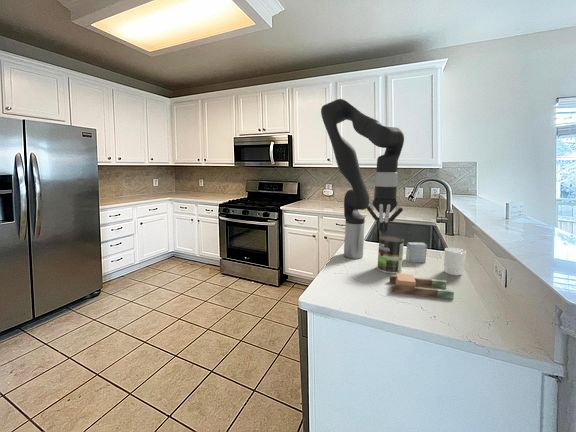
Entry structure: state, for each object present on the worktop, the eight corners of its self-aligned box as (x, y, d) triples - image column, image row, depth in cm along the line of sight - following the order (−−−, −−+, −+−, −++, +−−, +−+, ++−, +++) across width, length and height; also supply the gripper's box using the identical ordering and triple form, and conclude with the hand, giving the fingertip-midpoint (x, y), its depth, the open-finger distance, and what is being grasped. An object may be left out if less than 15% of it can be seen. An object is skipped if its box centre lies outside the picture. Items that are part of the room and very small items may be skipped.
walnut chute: (391, 292, 104) (392, 285, 103) (389, 281, 113) (389, 275, 113) (453, 299, 99) (454, 292, 98) (445, 286, 108) (446, 280, 108)
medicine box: (422, 259, 139) (423, 242, 138) (425, 262, 135) (427, 245, 133) (405, 259, 140) (406, 242, 138) (408, 262, 135) (409, 244, 134)
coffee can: (388, 275, 120) (390, 242, 117) (372, 267, 129) (373, 236, 126) (407, 271, 124) (409, 240, 121) (390, 264, 133) (392, 234, 130)
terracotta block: (397, 290, 105) (398, 280, 104) (395, 283, 111) (396, 273, 111) (415, 292, 103) (415, 282, 102) (411, 284, 110) (412, 274, 109)
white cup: (438, 269, 126) (440, 247, 124) (455, 269, 127) (458, 247, 125) (450, 276, 118) (452, 253, 117) (468, 275, 119) (470, 252, 117)
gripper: (366, 185, 101) (364, 233, 104) (407, 186, 97) (403, 235, 100) (366, 183, 108) (364, 228, 111) (404, 184, 105) (400, 230, 108)
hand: (382, 232), depth 106 cm, fingers closed
